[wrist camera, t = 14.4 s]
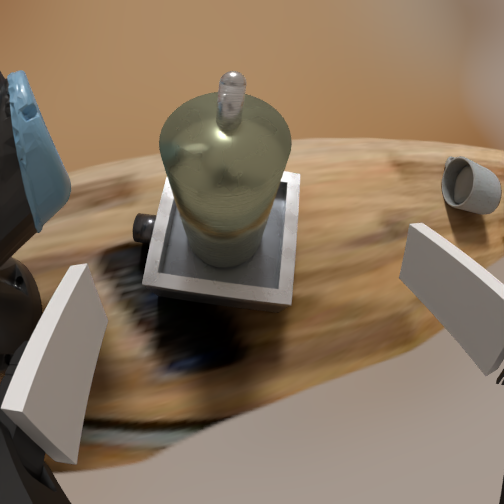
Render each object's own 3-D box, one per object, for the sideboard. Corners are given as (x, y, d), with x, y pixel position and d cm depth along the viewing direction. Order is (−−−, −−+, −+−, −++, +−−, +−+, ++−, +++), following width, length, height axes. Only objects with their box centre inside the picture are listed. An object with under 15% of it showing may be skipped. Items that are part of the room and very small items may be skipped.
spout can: (257, 272, 28) (299, 175, 12) (181, 262, 27) (130, 156, 12) (265, 202, 30) (301, 70, 14) (194, 193, 29) (173, 57, 14)
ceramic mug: (480, 223, 38) (511, 203, 31) (446, 216, 38) (478, 192, 30) (466, 167, 41) (491, 144, 34) (432, 157, 41) (457, 129, 34)
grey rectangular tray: (131, 291, 31) (111, 278, 25) (156, 186, 35) (144, 155, 29) (278, 312, 32) (291, 304, 25) (287, 202, 36) (300, 174, 29)
